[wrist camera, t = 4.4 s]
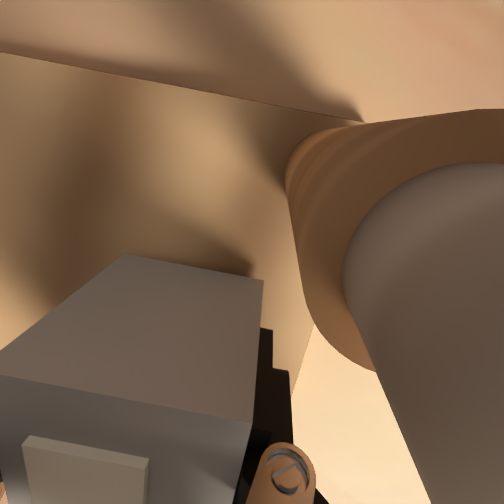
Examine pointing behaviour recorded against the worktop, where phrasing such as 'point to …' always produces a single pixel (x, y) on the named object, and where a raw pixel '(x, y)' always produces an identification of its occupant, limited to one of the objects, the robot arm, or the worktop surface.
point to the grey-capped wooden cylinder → (414, 280)
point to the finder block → (133, 389)
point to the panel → (144, 190)
